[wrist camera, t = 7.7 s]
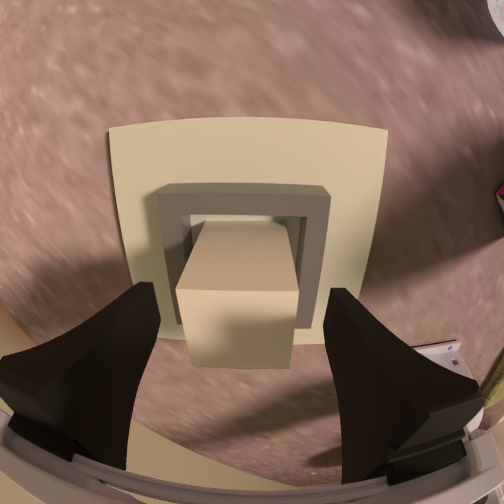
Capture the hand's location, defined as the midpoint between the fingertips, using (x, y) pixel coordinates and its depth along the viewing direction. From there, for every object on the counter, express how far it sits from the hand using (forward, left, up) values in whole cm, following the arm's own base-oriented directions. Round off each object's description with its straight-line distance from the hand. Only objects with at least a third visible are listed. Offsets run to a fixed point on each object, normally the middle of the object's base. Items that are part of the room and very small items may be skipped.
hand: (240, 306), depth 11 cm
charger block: (0, 0, -5) cm, 5 cm away
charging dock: (0, 0, -5) cm, 5 cm away
